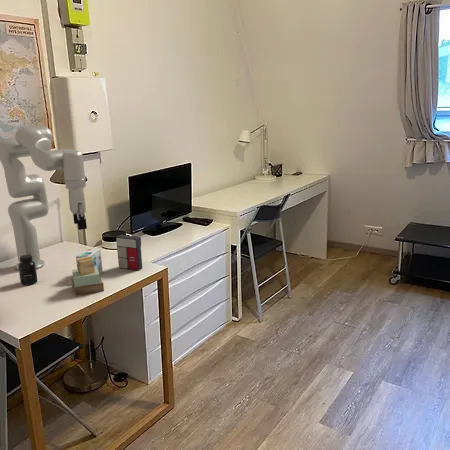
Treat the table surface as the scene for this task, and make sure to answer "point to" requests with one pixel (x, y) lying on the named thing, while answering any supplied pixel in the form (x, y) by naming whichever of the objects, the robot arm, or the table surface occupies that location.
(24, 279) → the supplement bottle
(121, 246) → the grey red box
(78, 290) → the walnut block
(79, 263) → the oak cube
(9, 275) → the table surface
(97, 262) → the light bulb box
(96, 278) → the sage block
